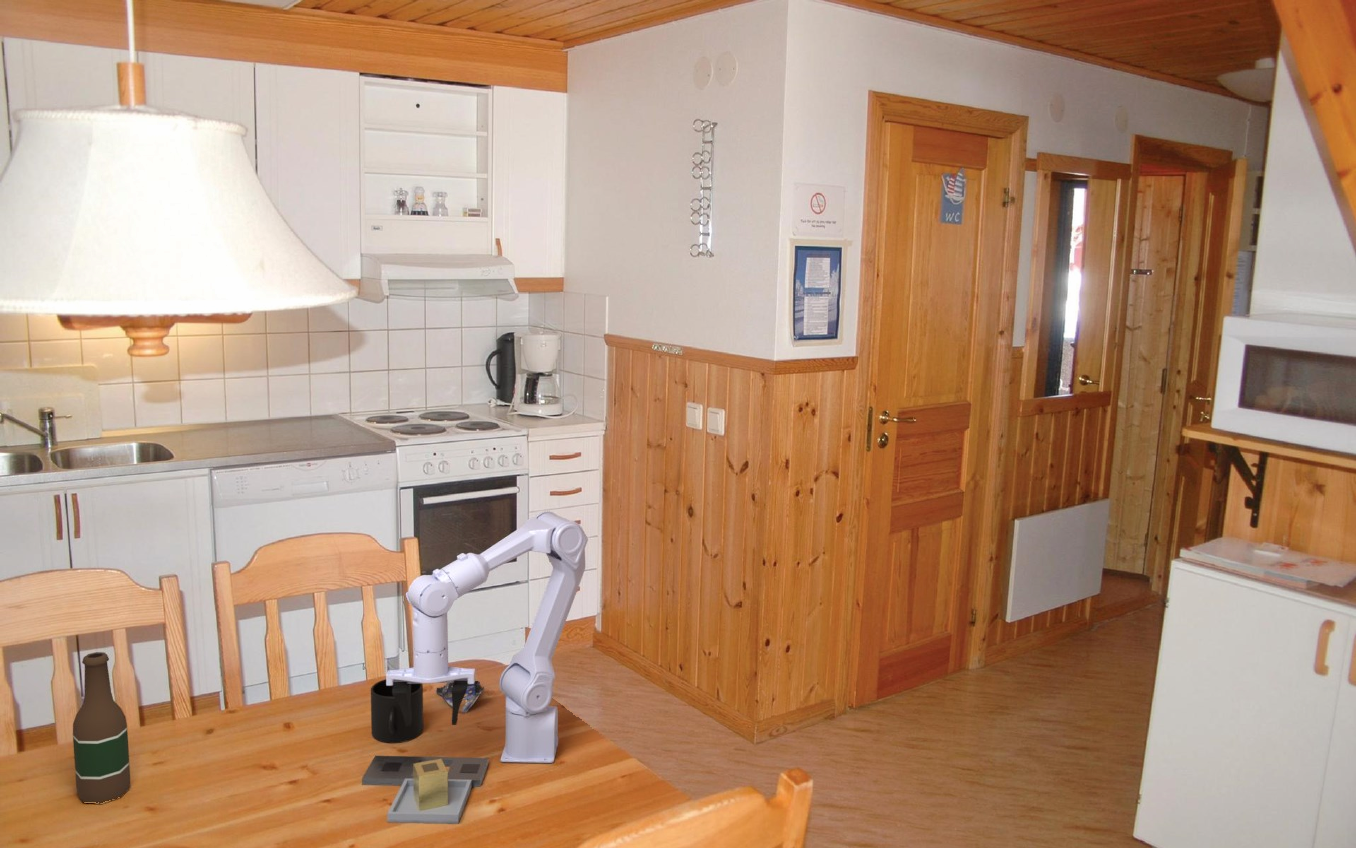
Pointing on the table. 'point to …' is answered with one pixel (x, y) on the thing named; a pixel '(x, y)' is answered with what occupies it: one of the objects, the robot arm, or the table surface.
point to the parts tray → (408, 811)
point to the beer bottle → (100, 737)
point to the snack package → (470, 695)
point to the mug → (395, 714)
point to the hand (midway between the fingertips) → (431, 723)
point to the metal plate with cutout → (401, 767)
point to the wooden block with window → (430, 784)
